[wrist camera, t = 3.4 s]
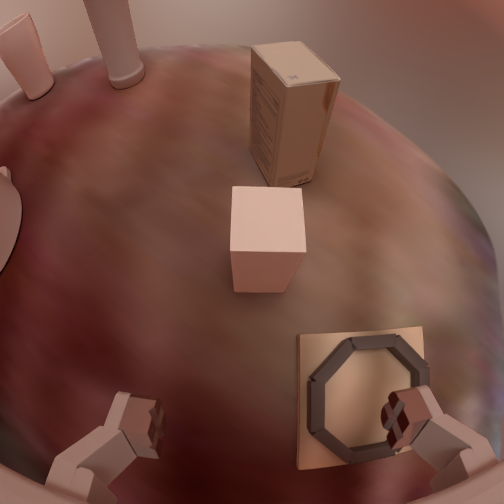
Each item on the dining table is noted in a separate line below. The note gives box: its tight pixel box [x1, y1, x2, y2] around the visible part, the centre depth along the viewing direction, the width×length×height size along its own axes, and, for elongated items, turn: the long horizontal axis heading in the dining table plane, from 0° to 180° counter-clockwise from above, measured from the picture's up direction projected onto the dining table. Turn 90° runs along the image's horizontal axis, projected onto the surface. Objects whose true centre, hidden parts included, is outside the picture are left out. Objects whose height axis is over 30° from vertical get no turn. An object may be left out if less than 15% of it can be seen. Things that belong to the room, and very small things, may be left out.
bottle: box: [83, 0, 145, 89], centre depth 23 cm, size 5×5×25 cm
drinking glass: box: [0, 12, 54, 100], centre depth 28 cm, size 7×7×15 cm
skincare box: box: [249, 41, 341, 188], centre depth 23 cm, size 6×4×12 cm
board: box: [297, 326, 430, 470], centre depth 20 cm, size 11×11×2 cm
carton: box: [230, 186, 306, 293], centre depth 21 cm, size 4×4×9 cm
